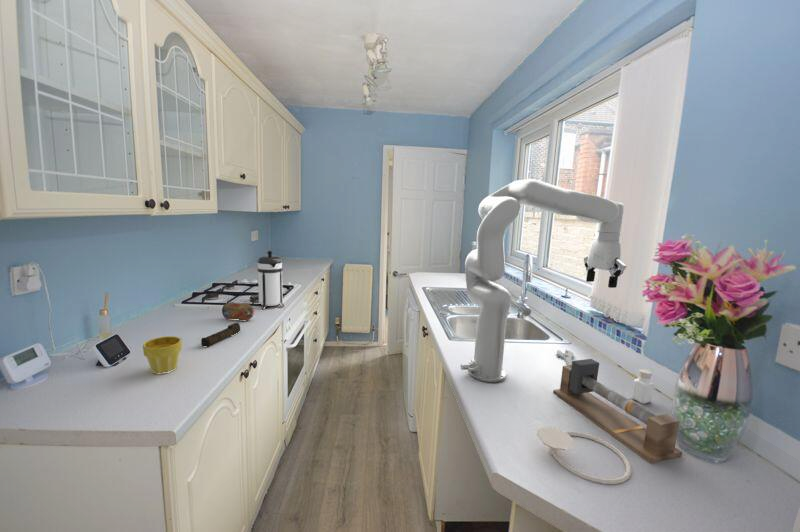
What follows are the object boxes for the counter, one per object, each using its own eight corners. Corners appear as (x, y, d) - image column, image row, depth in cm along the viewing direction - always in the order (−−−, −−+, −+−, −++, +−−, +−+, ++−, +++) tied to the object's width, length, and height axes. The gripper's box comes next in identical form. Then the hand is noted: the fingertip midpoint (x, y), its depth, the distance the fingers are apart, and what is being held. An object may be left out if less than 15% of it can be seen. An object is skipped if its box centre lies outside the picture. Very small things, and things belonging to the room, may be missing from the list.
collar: (576, 394, 105) (580, 365, 103) (568, 388, 108) (572, 360, 106) (595, 391, 107) (599, 363, 105) (587, 386, 110) (591, 358, 108)
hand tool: (208, 348, 136) (208, 337, 135) (200, 346, 137) (200, 335, 136) (245, 332, 153) (245, 322, 153) (237, 331, 155) (237, 321, 154)
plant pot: (178, 375, 114) (175, 346, 112) (139, 379, 111) (137, 349, 109) (186, 361, 123) (185, 334, 122) (152, 364, 120) (149, 337, 119)
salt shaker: (629, 398, 111) (634, 369, 109) (638, 395, 112) (643, 367, 111) (643, 404, 107) (647, 375, 106) (651, 402, 109) (656, 373, 107)
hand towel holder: (650, 472, 73) (547, 460, 76) (647, 491, 74) (544, 479, 76) (612, 423, 90) (528, 414, 92) (609, 438, 91) (526, 430, 93)
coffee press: (292, 303, 199) (291, 250, 194) (274, 311, 184) (273, 253, 179) (265, 300, 204) (264, 247, 199) (246, 307, 189) (244, 251, 184)
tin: (221, 319, 168) (221, 302, 167) (226, 317, 172) (225, 300, 170) (251, 322, 166) (250, 304, 165) (255, 320, 169) (254, 303, 168)
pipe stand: (650, 463, 82) (656, 427, 80) (553, 392, 112) (556, 365, 111) (681, 455, 85) (688, 421, 83) (578, 389, 115) (582, 362, 114)
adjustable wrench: (583, 383, 120) (583, 378, 120) (562, 380, 122) (562, 375, 122) (572, 354, 144) (572, 350, 143) (555, 352, 145) (555, 348, 145)
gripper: (579, 235, 134) (574, 279, 137) (620, 239, 118) (613, 290, 121) (595, 235, 136) (589, 279, 139) (637, 239, 120) (630, 289, 123)
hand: (600, 284), depth 130 cm, fingers open, 9 cm apart
